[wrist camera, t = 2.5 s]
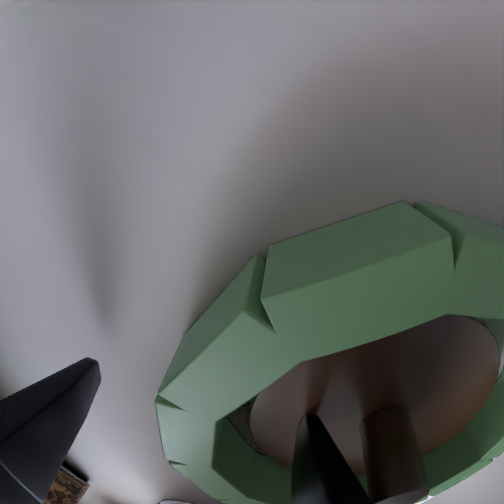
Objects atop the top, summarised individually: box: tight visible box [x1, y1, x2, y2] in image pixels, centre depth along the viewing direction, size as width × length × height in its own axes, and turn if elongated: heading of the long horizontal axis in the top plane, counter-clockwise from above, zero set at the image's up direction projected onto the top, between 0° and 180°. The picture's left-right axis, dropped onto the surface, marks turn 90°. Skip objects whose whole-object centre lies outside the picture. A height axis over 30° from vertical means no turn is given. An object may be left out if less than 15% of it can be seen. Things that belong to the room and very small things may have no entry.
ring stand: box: [249, 314, 500, 504], centre depth 7 cm, size 9×9×4 cm
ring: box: [155, 201, 504, 504], centre depth 8 cm, size 14×14×2 cm
